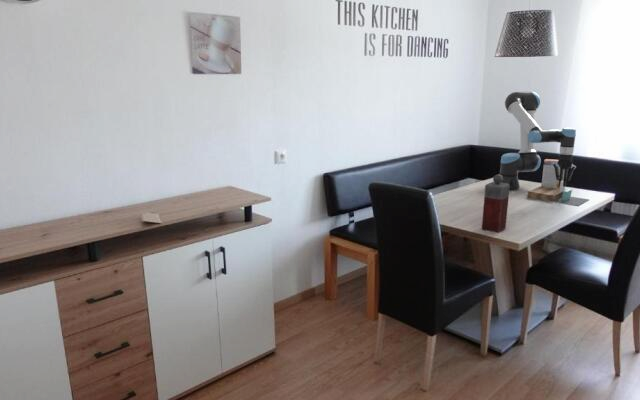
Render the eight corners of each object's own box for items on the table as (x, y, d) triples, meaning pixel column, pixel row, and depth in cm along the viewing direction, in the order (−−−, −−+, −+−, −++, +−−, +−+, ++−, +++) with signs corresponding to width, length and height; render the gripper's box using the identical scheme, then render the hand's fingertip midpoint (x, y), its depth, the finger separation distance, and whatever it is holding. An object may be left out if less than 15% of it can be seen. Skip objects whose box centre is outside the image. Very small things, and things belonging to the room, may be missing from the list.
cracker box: (564, 191, 318) (568, 160, 312) (563, 193, 313) (567, 161, 307) (541, 188, 325) (545, 158, 320) (540, 190, 320) (544, 159, 315)
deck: (527, 197, 302) (528, 191, 301) (539, 192, 316) (540, 186, 315) (553, 201, 292) (554, 195, 291) (565, 196, 305) (566, 190, 304)
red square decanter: (507, 227, 244) (512, 173, 237) (498, 232, 236) (503, 177, 229) (490, 224, 250) (495, 171, 243) (481, 229, 242) (485, 174, 235)
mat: (553, 201, 292) (553, 201, 291) (565, 196, 305) (565, 195, 305) (578, 206, 282) (578, 205, 282) (589, 199, 296) (589, 199, 296)
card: (563, 190, 291) (567, 191, 290) (569, 188, 298) (572, 189, 296) (561, 200, 293) (564, 201, 292) (566, 197, 300) (569, 198, 298)
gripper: (552, 153, 293) (548, 190, 299) (575, 155, 284) (570, 194, 290) (557, 151, 298) (552, 188, 304) (579, 154, 289) (574, 192, 295)
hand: (561, 191), depth 297 cm, fingers closed
